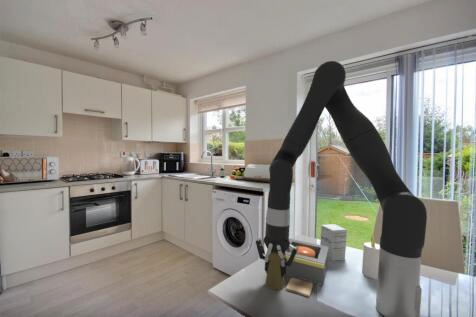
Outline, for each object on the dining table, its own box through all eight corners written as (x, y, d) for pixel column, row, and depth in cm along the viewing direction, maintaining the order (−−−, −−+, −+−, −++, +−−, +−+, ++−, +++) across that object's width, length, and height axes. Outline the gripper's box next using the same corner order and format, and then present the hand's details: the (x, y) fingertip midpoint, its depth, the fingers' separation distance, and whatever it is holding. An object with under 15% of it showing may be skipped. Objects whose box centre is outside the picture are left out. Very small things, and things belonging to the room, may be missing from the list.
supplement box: (319, 253, 99) (320, 224, 98) (333, 252, 101) (334, 223, 101) (330, 261, 92) (332, 230, 91) (345, 259, 94) (347, 229, 94)
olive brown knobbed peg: (284, 291, 70) (286, 255, 70) (264, 288, 71) (266, 253, 71) (284, 280, 76) (286, 248, 75) (265, 278, 77) (267, 245, 77)
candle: (386, 276, 82) (388, 235, 81) (375, 280, 79) (377, 237, 78) (369, 268, 87) (371, 229, 87) (358, 271, 84) (360, 231, 84)
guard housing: (327, 264, 89) (328, 246, 89) (323, 285, 74) (324, 264, 74) (286, 254, 96) (287, 238, 96) (275, 272, 81) (276, 252, 81)
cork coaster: (312, 285, 74) (312, 283, 74) (309, 297, 68) (309, 295, 68) (291, 279, 77) (291, 277, 77) (286, 289, 71) (286, 287, 71)
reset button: (316, 257, 87) (316, 249, 87) (312, 266, 80) (313, 257, 80) (294, 252, 90) (295, 244, 90) (290, 260, 83) (290, 252, 83)
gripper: (302, 222, 73) (299, 275, 74) (260, 215, 79) (258, 264, 80) (297, 229, 66) (294, 287, 67) (252, 220, 73) (249, 273, 73)
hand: (274, 274), depth 73 cm, fingers closed on olive brown knobbed peg, 4 cm apart
